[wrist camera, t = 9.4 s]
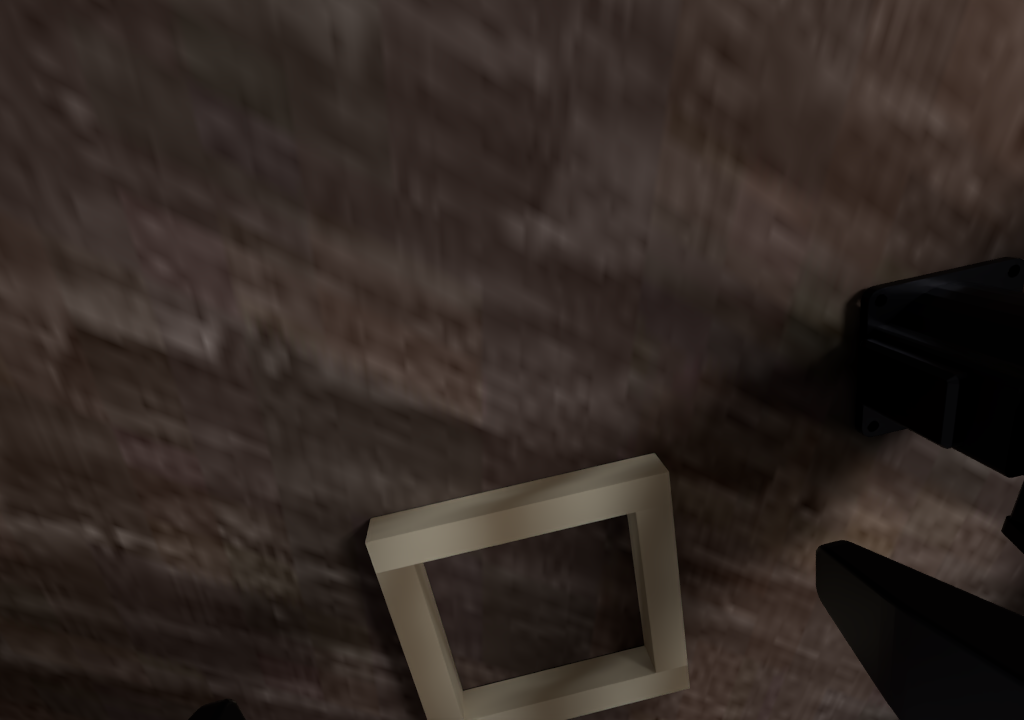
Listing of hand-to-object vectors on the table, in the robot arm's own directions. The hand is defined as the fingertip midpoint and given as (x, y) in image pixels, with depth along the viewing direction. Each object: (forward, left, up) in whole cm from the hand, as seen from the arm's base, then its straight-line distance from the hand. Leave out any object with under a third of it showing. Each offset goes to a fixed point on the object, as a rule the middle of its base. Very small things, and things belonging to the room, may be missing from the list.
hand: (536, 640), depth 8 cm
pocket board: (0, +11, -12) cm, 17 cm away
